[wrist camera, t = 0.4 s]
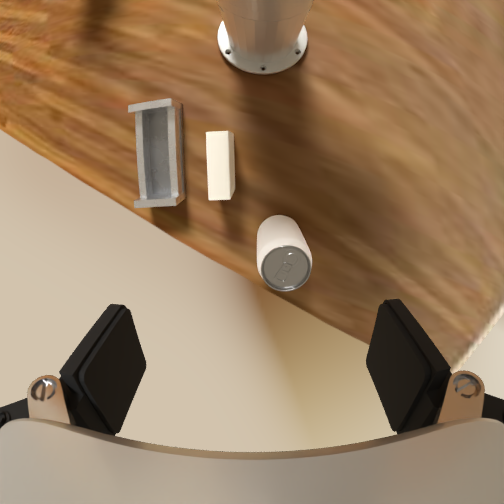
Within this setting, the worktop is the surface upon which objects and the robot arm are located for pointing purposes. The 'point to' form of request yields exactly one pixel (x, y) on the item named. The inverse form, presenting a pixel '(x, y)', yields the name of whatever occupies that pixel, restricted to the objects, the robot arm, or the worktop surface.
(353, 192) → the worktop surface
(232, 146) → the plain white block
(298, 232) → the can
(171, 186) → the track
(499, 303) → the worktop surface
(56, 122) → the worktop surface
